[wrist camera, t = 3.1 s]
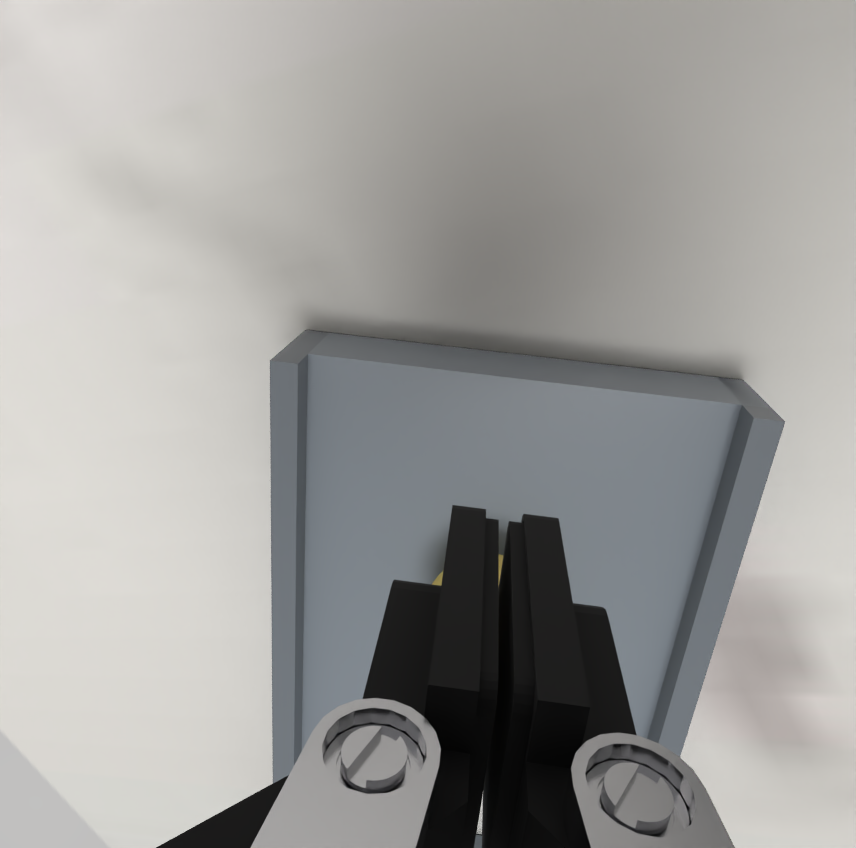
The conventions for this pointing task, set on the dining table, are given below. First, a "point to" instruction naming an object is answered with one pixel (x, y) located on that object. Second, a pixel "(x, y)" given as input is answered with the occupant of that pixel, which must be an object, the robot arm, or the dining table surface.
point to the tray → (503, 504)
